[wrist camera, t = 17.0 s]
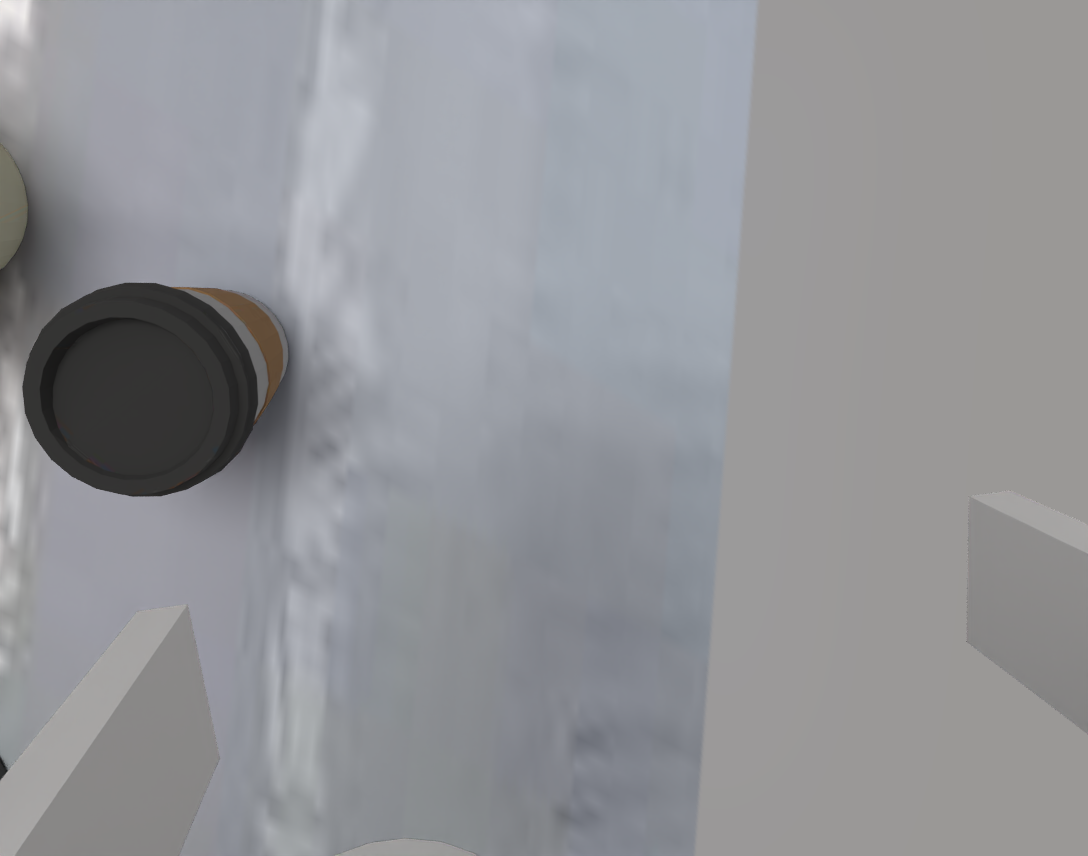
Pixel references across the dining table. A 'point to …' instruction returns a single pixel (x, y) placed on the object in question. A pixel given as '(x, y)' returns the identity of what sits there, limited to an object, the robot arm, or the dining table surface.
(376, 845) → the white stepped cylinder block
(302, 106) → the dining table surface
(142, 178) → the dining table surface
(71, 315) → the coffee cup
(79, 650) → the dining table surface
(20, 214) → the reusable coffee cup
